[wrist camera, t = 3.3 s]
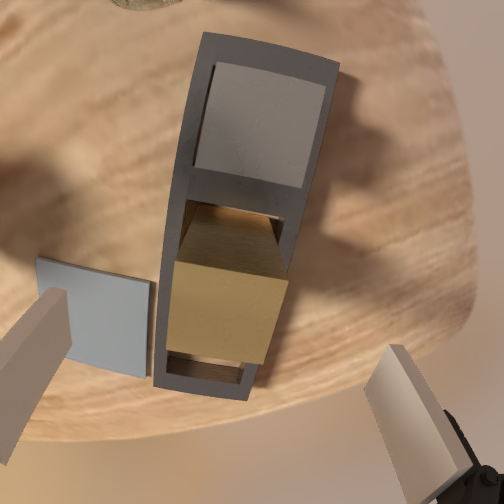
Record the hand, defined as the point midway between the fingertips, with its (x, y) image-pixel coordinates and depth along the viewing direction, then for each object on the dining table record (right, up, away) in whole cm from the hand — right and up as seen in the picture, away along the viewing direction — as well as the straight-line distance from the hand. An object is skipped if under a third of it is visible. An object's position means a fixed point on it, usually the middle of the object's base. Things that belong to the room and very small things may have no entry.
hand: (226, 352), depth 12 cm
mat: (-12, -2, +12) cm, 17 cm away
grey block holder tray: (-1, +4, +10) cm, 11 cm away
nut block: (-1, +4, +10) cm, 11 cm away
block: (+1, +12, +7) cm, 14 cm away
